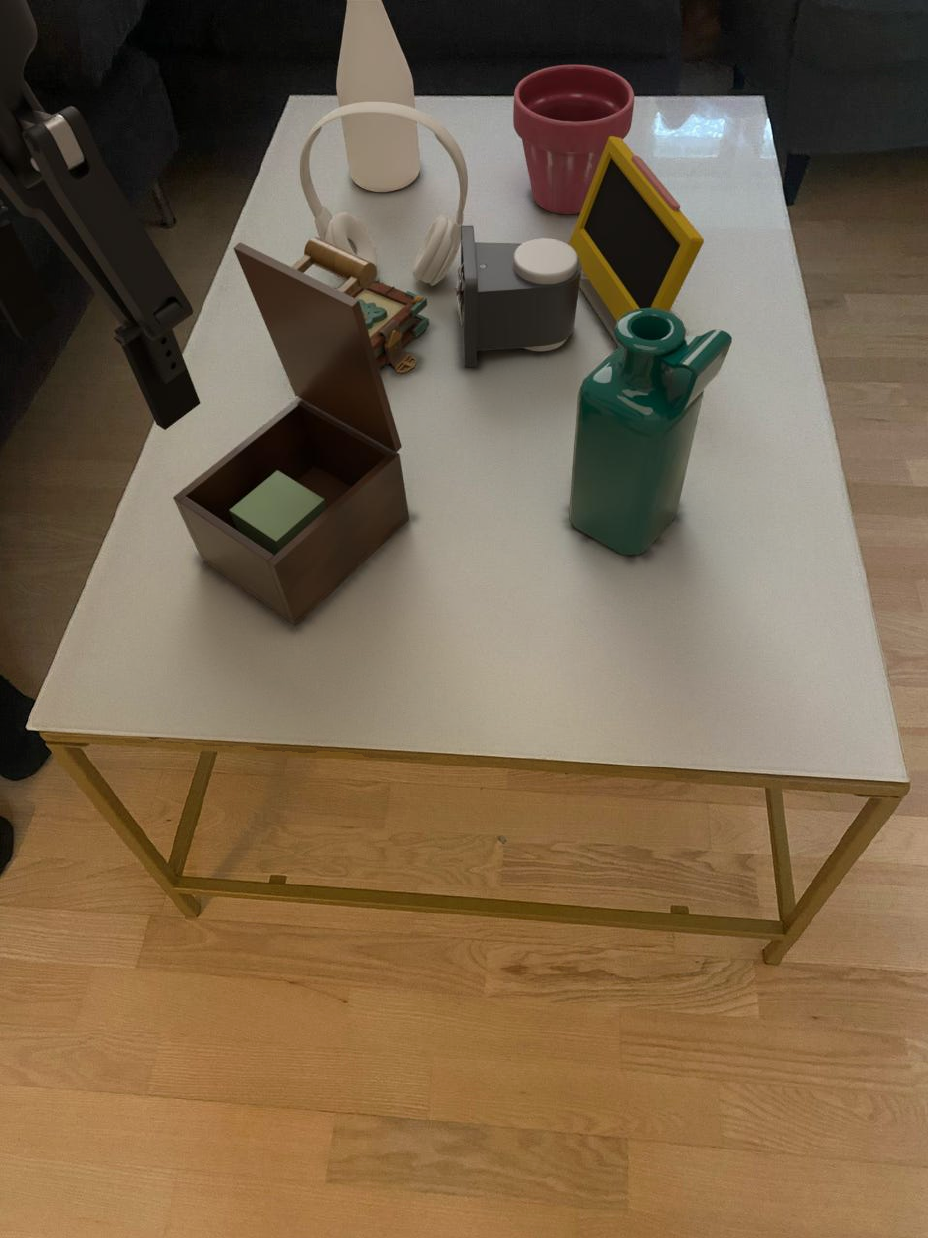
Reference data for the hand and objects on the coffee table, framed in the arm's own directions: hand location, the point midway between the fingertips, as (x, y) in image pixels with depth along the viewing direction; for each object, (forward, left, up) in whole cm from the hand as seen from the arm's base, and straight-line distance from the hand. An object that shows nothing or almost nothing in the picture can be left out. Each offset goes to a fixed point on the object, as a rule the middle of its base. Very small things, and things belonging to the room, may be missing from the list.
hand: (105, 368), depth 54 cm
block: (+7, +8, -30) cm, 32 cm away
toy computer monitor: (+52, +26, -31) cm, 66 cm away
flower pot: (+56, +51, -31) cm, 82 cm away
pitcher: (+38, -1, -31) cm, 49 cm away
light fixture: (+39, +28, -31) cm, 57 cm away
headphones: (+30, +44, -31) cm, 62 cm away
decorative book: (+21, +32, -31) cm, 49 cm away
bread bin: (+9, +9, -31) cm, 33 cm away
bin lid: (+15, +12, -13) cm, 23 cm away
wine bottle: (+36, +66, -31) cm, 81 cm away
